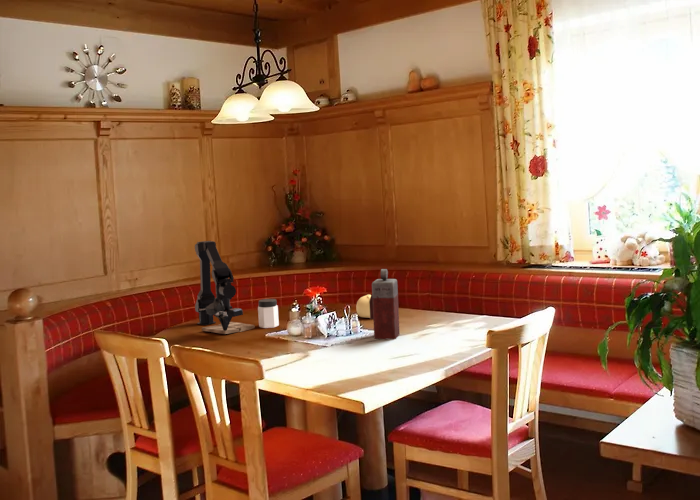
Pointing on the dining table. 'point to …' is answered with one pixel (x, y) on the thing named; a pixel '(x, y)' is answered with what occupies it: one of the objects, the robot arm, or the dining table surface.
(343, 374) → the dining table surface
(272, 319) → the jar
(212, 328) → the plank
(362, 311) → the sculpture
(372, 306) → the red grey rectangular bottle
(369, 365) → the dining table surface
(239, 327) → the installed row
